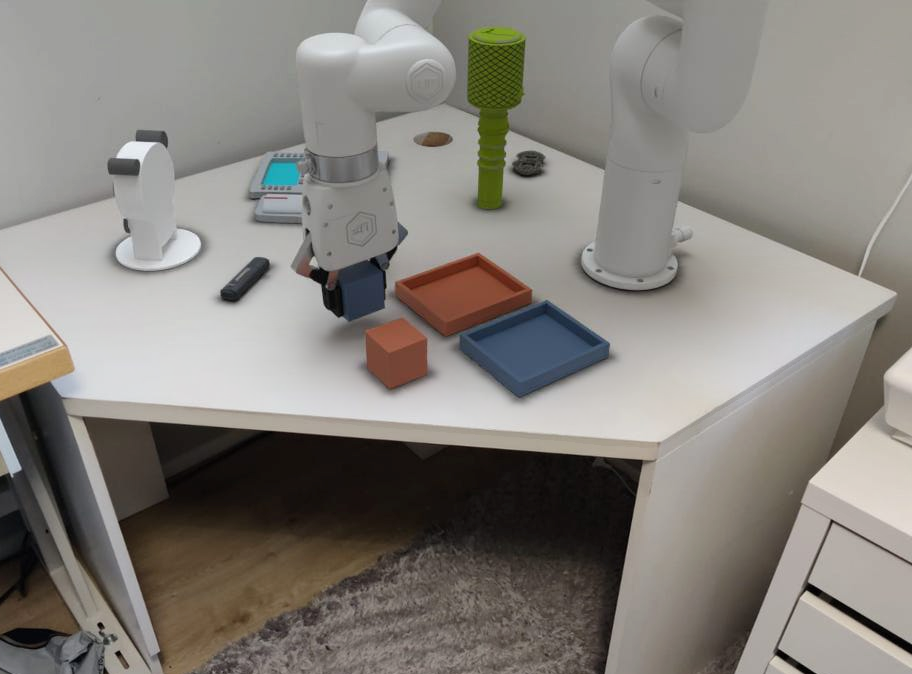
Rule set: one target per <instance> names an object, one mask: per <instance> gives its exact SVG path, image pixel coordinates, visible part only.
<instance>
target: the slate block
mask: <svg viewBox="0 0 912 674" xmlns="http://www.w3.org/2000/svg"><path fill="white" fill-rule="evenodd" d="M337 285H338V286H339V287H340V288H341V292H342V302H343V312H344V315H343V317H342V318H343V319H344V320H345V321H346V322H348V323H351V322H353V321H355V320H358V319H360V318H363V317H366V316H369V315H371V314H374V313H376V312H379V311H381V310H384V309H386V304H385V303H386V302H385V301H386V300H384V285H383V272H382V271H381V270H380V269H378V268H377V267H376V266H375V265H373V264H372V263H371V262H370V261H368V260H365V261H362V262H359V263H356V264H353V265H351V266H348V267H345V268H342V269H339V273H338V279H337Z"/></svg>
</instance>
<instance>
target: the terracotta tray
mask: <svg viewBox="0 0 912 674" xmlns="http://www.w3.org/2000/svg"><path fill="white" fill-rule="evenodd" d="M394 294H395V295H394V296H395V297H397V298H398V299H399V300H401V302H403V303H404V304H406V306H408V307H409V308H410V309H412V310H413V311H414V312H415V313H416V314H418V315H419V316H420V317H421V318H423V320H424V321H426V322H427V323H429V324H430V325H431V326H432V327H433V328H434V329H436V330H437V331H438V332H439V333H440V334H442V335H443V336H444V337H448V336H450V335H453V334H457V333H458V332H461V331H463V330H466V329H468V328H471V327H473V326H476V325H478V324H482V323H484V322H486V321H488V320H491V319H494V318H496V317H500V316H501V315H504V314H506V313H509V312H511V311H514V310H517V309H519V308H521V307H524V306H527V305H530V304H531V303H532V297H533V289H532V288H531V287H530V286H528V285H526V284H525V283H524V282H522V281H521V280H520V279H518V278H516V277H515V276H514V275H512V274H511V273H510V272H508V271H506V270H505V269H503V268H502V267H501V266H499V265H498V264H496V263H495V262H494V261H492V260H490V259H489V258H488V257H486V256H485V255H483V254H482V253H480V252H476V253H473V254H470V255H468V256H465V257H462V258H459V259H456V260H454V261H451V262H447V263H445V264H442V265H439V266H435V267H433V268H431V269H428V270H425V271H422V272H419V273H417V274H413V275H410V276H408V277H405V278H402V279H399V280H396V281H394Z"/></svg>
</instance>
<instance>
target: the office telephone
mask: <svg viewBox="0 0 912 674" xmlns="http://www.w3.org/2000/svg"><path fill="white" fill-rule="evenodd" d="M389 153H390V152H389V151H387V150H386V151H385V150H378V160H379V162H381V163H383V164H384V165H385V166H386V168H387V169H388V163H389V159H390V157H389V155H390V154H389ZM303 158H305V153H304V152H287V151H285V152H283V151H282V152H281V151H267V152H266V153H265V154H264V156H263V158H262V160H261V162H260V164H259V166H258V169H257V171H256V172H255V175H254V177H253V180H252V182H251V183H250V184H251V185H250V188H249V196H250V198H251V199H259V200H258V202H257V204H256V208H255V210H254V218H255V221H257V222H261V223H262V222H263V223H280V224H281V223H282V224H284V223H285V224H301V225H302V189H303V180H304V175H305V174H307V173H304V174H299V173H298V171H297V168H296V162H297V161H301V160H302V159H303Z"/></svg>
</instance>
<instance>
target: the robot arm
mask: <svg viewBox="0 0 912 674" xmlns="http://www.w3.org/2000/svg"><path fill="white" fill-rule="evenodd" d="M646 1H647V2H648V3H650V4H652V5H653V6H655V7H657V8H658V9H661V10H663V11H665V12H667V13H669V14H672V15H674V16H675V17H678V18H680V19H682V20H679V19H677V18H674V17H672V16H671V17H670V16H667V15H661V14H659V15H658V14H654V15H647V16H643V17H641V18H638V19H636V20H634V21H633V22H631V23H630V24H629V25H627V27H626V28H625V29H624V30H623V31H622V32H621V33H620V35H619V36H618V38H617V40H616V41H615V44H614V47H613V49H612V53H611V57H610V64H609V88H610V125H609V132H608V133H609V135H608V143H607V151H606V156H605V157H606V158H605V165H604V166H605V167H604V172H603V173H604V174H603V181H602V188H601V197H600V203H599V211H598V217H597V218H598V220H597V227H596V235H595V241H593V242H591V243H590V244H588V245H586V247H584V249H583V250H582V252H581V257H580V263H581V267H582V269H583V271H584V272H585V273H586V274H587V275H588V276H589V277H590V278H592V279H593V280H594V281H597V282H599V283H601V284H603V285H605V286H608V287H611V288H616V289H620V290H628V291H645V290H647V291H648V290H652V289H656V288H659V287H663V286H665V285H668V283H670V282H671V281H672V280H674V279H675V277H676V275H677V271H678V266H679V265H678V260H677V257H676V256H675V255H674V253H673V249H674V248H676V247H677V245H678V244H679V243H683V242H686V241H689V240H691V239H692V238H693V235H694V232H693V229H692V228H691V226H689V225H683V226H680V227H677V228H676V229H674V230H673V228H674V223H675V218H676V212H677V208H678V202H679V198H680V197H679V196H680V191H681V188H682V187H681V186H682V181H683V177H684V176H683V175H684V171H685V165H686V160H687V156H688V152H689V151H688V150H689V142H690V132H691V133H694V134H695V133H696V134H709V133H714V132H716V131H719V130H720V129H723V128H724V127H725V126H727V125H729V123H730V122H731V121H732V120H733V119H734V118H735V117H736V116H737V115H738V113H739V112H740V110H741V108H742V107H743V106H744V103H745V100H746V99H747V95H748V94H749V91H750V88H751V84H752V81H753V77H754V73H755V67H756V63H757V59H758V54H759V49H760V45H761V40H762V36H763V35H762V34H763V29H764V25H765V20H766V17H767V16H766V15H767V10H768V5H769V1H770V0H646ZM443 2H444V0H366V3H365V5H364V7H363V9H362V10H361V13H360V16H359V17H358V20H357V23H356V25H355V28H354V33H353V34H351V33H347V32H326V33H320V34H316V35H312V36H310V37H308V38H305V39H304V40H303V41H301V42H300V44H299V45H298V46H297V48H296V51H295V57H294V59H295V70H296V78H297V85H298V93H299V103H300V111H301V120H302V128H303V137H304V145H305V148H303V153H305V158H303V159H302V160H301V161H297V162H296V168H297V171H298V173H299V174H304V173H307V174H305V175H304V180H303V189H302V224H301V227H302V229H301V231H302V237H303V238H302V240H303V241H302V243H301V245H300V247H299V249H298V251H297V253H296V255H295V257H294V259H293V261H292V262H291V264H290V268H291V270H292V271H293V272H295V273H296V274H297V275H299V276H301V277H304V278H306V279H310V280H312V281H313V282H315V283H317V284H319V285H320V287H321V297H322V303H323V306H324V308H325V309H326V310H327V311H330V312H331V313H332V314H333V315H335V317H336V318H338V319H341V318H343V315H344V312H343V302H342V292H341V288H340V287H339V286H338V285H337V279H338V273H339V269H342V268H345V267H348V266H351V265H353V264H356V263H359V262H362V261H365V260H367V259H370V262H371V263H372V264H373V265H375V266H376V267H377V268H378V269H380V270H381V271H382V272H383V285H384V300H385V301H386V298H387V297H386V290H387V288H388V287H387V284H388V283H387V272H386V271H388V270H389V269H390V265H391V263H390V262H391V260H392V258H393V257H394V255H395V254H396V253H397V250H398V246H400V245H401V244H402V242H403V241H404V240H405V239H406V237H407V236H408V235H409V231H408V229H407V228H406V227H405V226H403V225H402V223H400V222H399V221H398V215H397V208H396V201H395V196H394V190H393V187H392V183H391V179H390V176H389V172H388V167H387V168H386V166H385V165H384V164H383V163H381V162H379V160H378V151H379V148H378V147H379V145H378V131H377V129H378V128H377V113H419V112H425V111H428V110H431V109H433V108H436V107H438V106H439V105H441V104H442V103H444V101H445V100H446V99H448V98H449V96H450V95H451V93H452V92H453V90H454V87H455V85H456V80H457V67H456V63H455V60H454V57H453V55H452V54H451V52H450V50H449V49H448V47H446V45H445V44H443V43H442V41H440V39H438V38H437V37H435V36H434V35H432V34H431V33H430V32H428V27H429V25H430V23H431V21H432V19H433V18H434V16H435V14H436V12H437V11H438V9H439V7H440V6H441V5H442V3H443ZM313 258H315V260H316V263H317V264H316V266H314V265H312V264H311V261H312V259H313Z"/></svg>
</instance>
